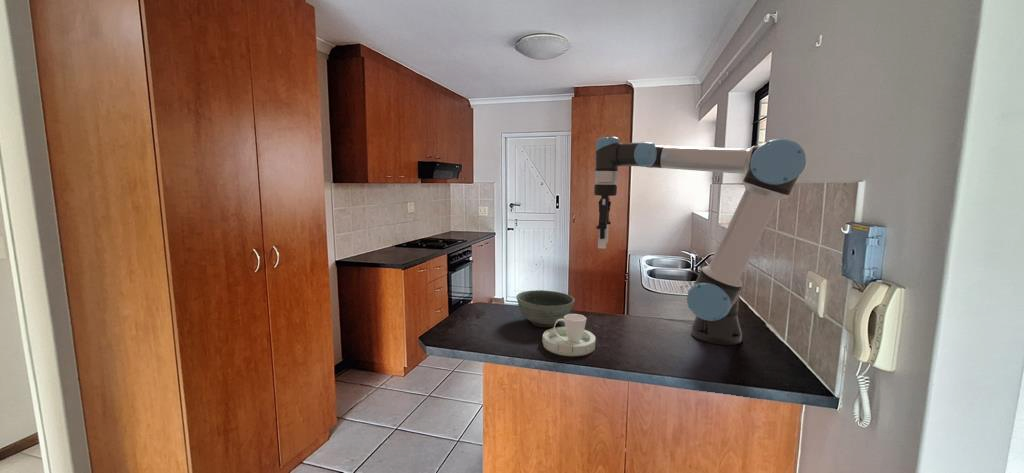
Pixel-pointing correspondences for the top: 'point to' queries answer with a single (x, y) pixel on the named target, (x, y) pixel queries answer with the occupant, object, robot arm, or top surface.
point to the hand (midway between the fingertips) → (603, 245)
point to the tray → (564, 348)
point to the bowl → (544, 306)
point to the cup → (573, 328)
